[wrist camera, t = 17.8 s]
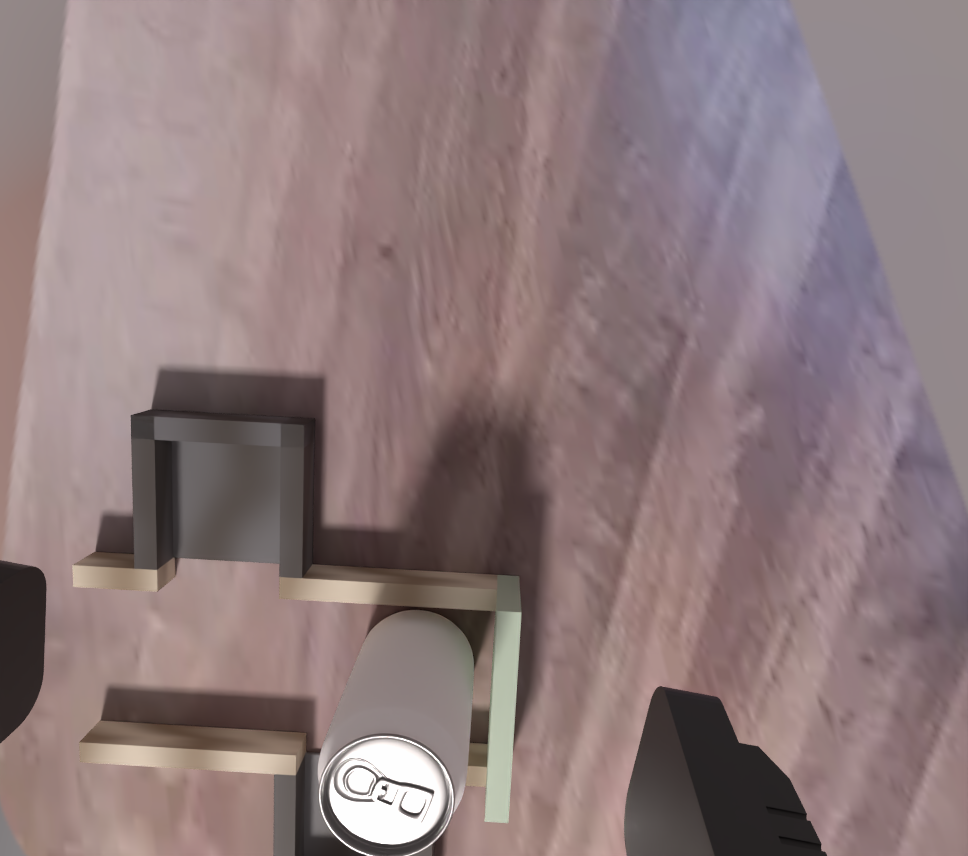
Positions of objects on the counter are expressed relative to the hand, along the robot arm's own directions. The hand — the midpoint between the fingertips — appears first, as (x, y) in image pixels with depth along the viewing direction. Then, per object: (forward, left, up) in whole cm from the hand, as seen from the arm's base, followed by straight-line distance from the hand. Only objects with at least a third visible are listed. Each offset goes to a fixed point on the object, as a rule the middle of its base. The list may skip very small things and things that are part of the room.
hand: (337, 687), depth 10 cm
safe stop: (+13, -9, -31) cm, 34 cm away
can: (+9, -12, -31) cm, 34 cm away
